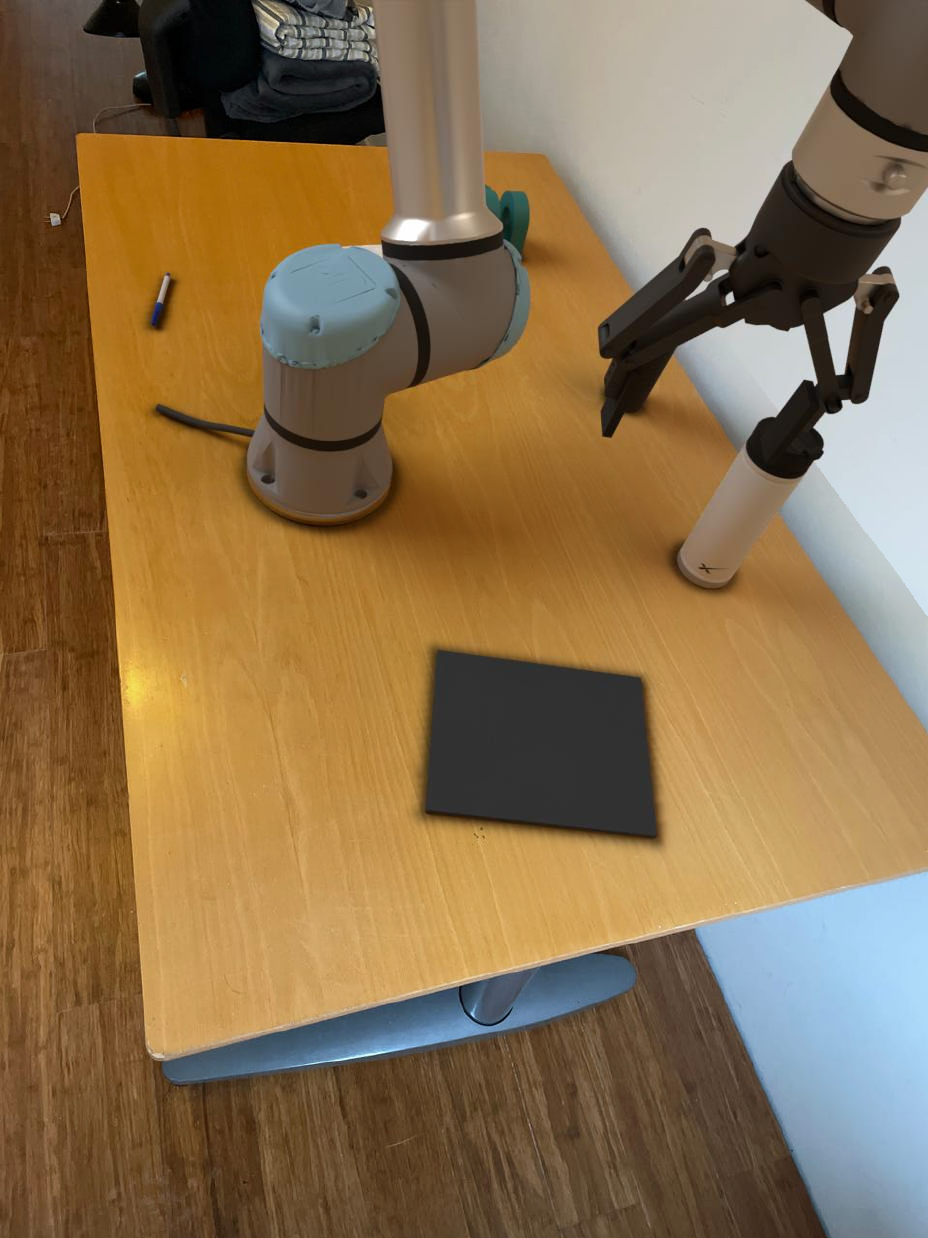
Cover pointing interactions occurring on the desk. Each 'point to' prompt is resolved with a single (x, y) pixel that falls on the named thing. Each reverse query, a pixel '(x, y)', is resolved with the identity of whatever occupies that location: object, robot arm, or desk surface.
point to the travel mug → (744, 506)
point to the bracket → (510, 214)
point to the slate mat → (539, 746)
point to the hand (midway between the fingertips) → (687, 438)
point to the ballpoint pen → (160, 300)
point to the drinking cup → (649, 379)
